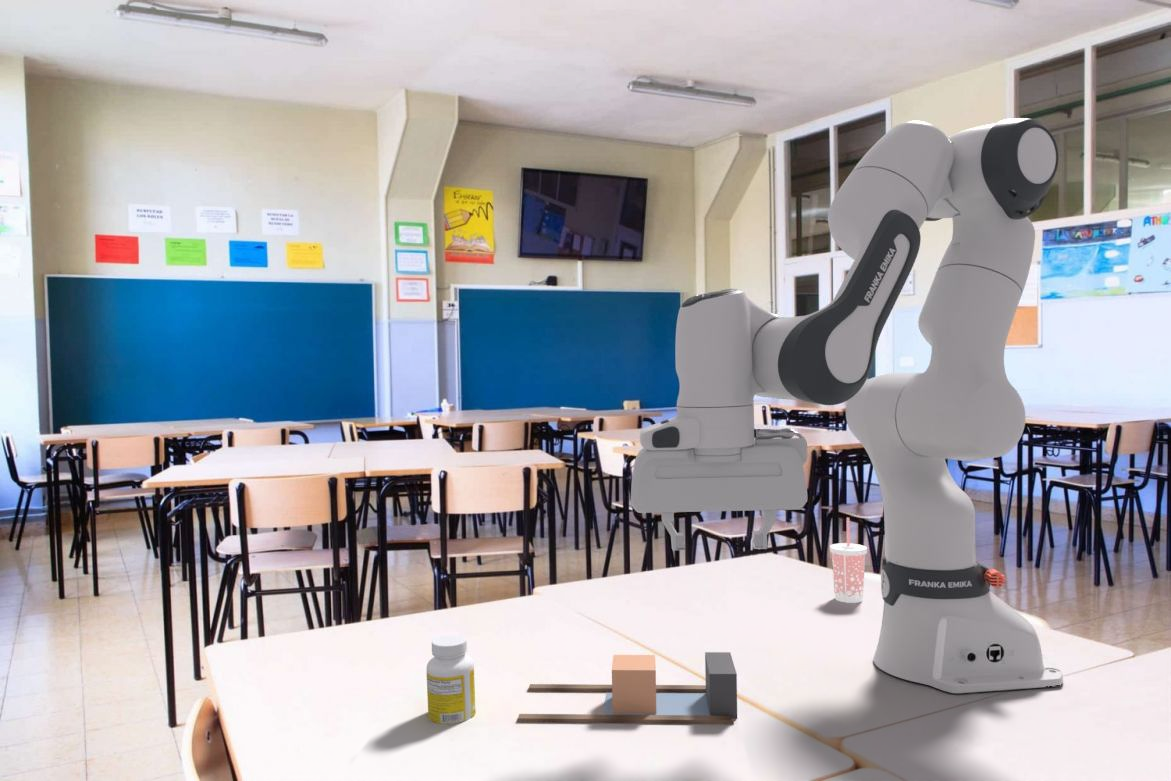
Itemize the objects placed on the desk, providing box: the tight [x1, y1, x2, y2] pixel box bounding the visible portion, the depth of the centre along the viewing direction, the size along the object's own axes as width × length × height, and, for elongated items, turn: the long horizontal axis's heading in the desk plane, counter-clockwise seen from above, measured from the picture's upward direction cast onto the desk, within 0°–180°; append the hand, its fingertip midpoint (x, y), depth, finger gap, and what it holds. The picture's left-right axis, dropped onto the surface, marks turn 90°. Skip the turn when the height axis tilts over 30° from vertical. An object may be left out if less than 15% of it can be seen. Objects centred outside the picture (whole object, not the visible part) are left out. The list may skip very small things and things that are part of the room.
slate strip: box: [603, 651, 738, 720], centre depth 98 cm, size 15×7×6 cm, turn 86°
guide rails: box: [517, 683, 735, 725], centre depth 98 cm, size 24×10×2 cm, turn 86°
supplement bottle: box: [426, 634, 476, 725], centre depth 97 cm, size 5×5×10 cm
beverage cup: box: [829, 517, 868, 604], centre depth 143 cm, size 6×6×14 cm
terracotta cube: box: [611, 654, 657, 714], centre depth 98 cm, size 5×5×5 cm
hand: (718, 548), depth 98 cm, fingers open, 8 cm apart
